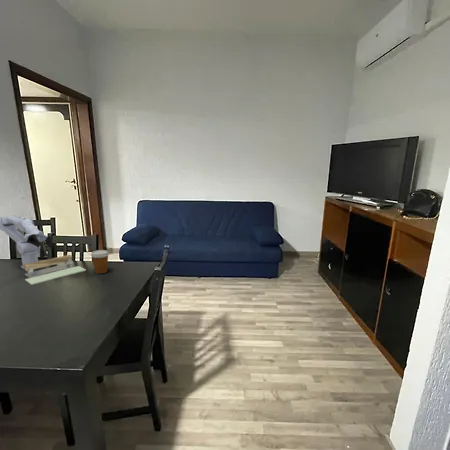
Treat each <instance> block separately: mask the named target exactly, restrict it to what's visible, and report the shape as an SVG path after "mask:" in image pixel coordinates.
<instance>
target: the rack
mask: <svg viewBox="0 0 450 450" xmlns="http://www.w3.org/2000/svg"><path fill="white" fill-rule="evenodd" d="M71 263H72V261H71V258H68V262H65V264H64V263H63V264H61V265H55V266H51V267H48V268H44V269H43V268H41V269H38V270H35V271H34V269H33V267H29V271H27V272H26V273H24V275H25V276H26V277H27V278H33V277H37V276H41V275H45V274H49V273H53V272H57V271H61V270H65V269H69V268H73V267H74V265H72V264H71Z"/></svg>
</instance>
